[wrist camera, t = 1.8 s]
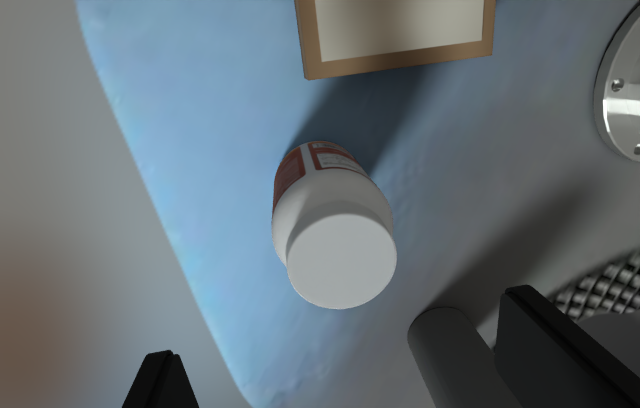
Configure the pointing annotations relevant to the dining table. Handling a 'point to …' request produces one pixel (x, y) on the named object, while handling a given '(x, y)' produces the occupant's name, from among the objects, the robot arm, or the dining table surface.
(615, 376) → the robot arm
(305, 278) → the pill bottle
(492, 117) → the dining table surface
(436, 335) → the bottle
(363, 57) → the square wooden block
